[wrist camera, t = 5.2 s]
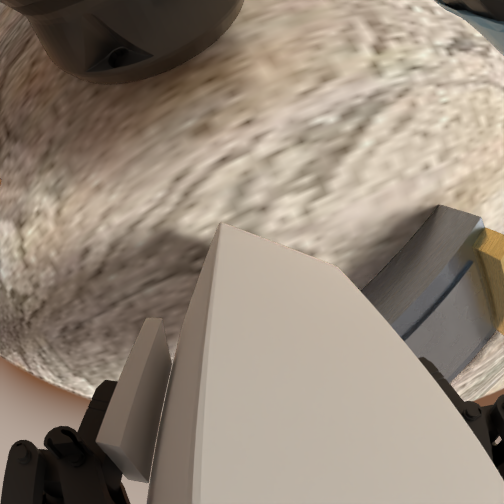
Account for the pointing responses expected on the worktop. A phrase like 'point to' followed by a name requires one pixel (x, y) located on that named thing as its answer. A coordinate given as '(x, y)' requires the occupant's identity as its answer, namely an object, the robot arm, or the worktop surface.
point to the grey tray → (444, 289)
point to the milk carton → (304, 395)
